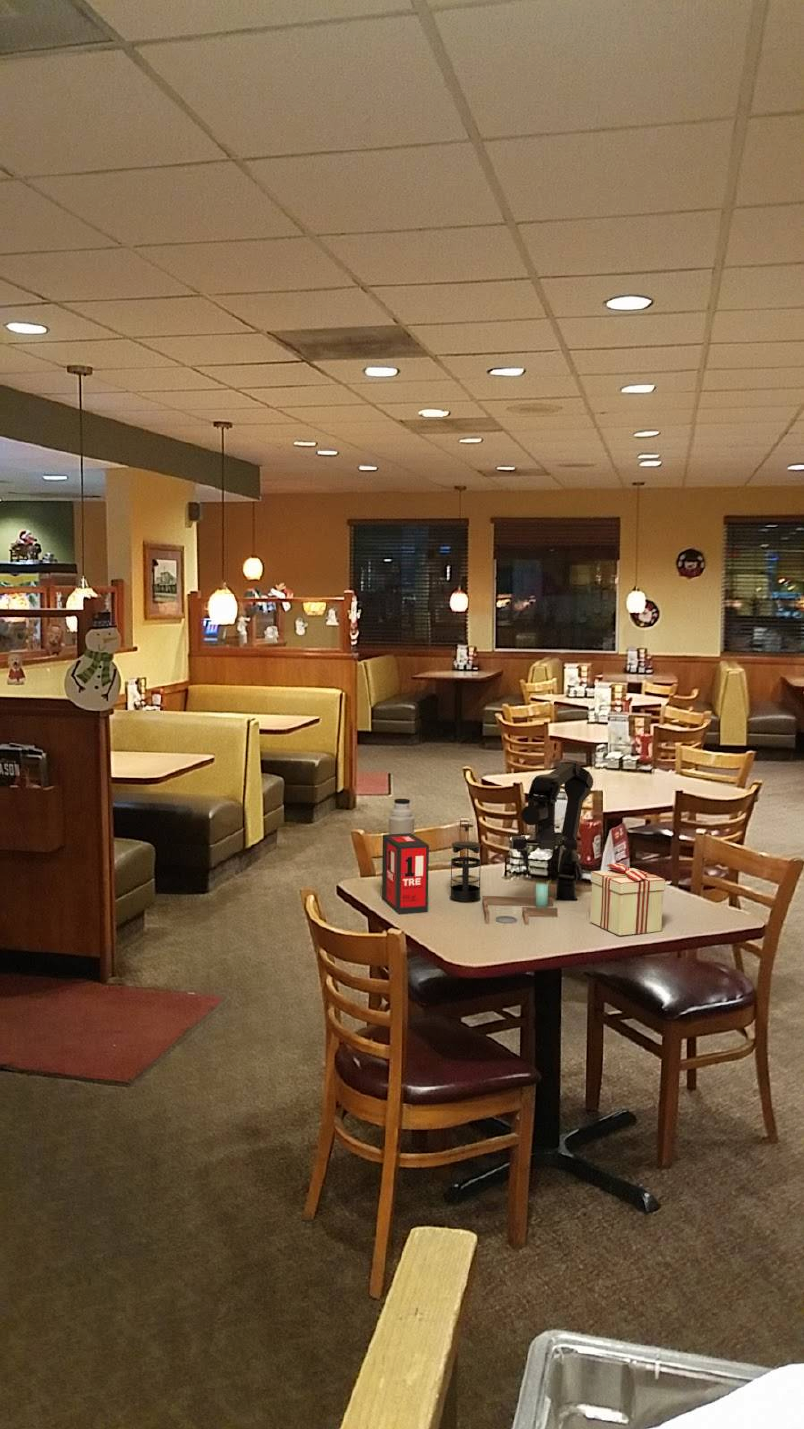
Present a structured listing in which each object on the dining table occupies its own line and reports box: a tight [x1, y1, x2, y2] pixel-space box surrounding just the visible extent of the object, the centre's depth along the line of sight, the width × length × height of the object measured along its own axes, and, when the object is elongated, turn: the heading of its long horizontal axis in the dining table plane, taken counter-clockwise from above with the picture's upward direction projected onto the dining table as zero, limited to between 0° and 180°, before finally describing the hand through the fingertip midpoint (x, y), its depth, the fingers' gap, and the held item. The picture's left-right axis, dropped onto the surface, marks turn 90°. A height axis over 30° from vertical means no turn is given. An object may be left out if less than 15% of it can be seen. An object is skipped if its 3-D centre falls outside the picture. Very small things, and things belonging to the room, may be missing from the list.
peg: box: [534, 882, 549, 908], centre depth 323 cm, size 4×4×8 cm
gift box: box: [589, 862, 666, 936], centre depth 309 cm, size 17×18×17 cm
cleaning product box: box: [381, 833, 430, 915], centre depth 326 cm, size 16×9×20 cm, turn 18°
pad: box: [495, 915, 518, 924], centre depth 314 cm, size 6×6×1 cm
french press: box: [449, 823, 482, 904], centre depth 335 cm, size 12×9×23 cm
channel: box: [481, 895, 558, 926], centre depth 320 cm, size 20×21×2 cm
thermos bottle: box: [388, 798, 415, 836], centre depth 347 cm, size 8×8×28 cm
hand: (543, 871), depth 322 cm, fingers open, 9 cm apart
